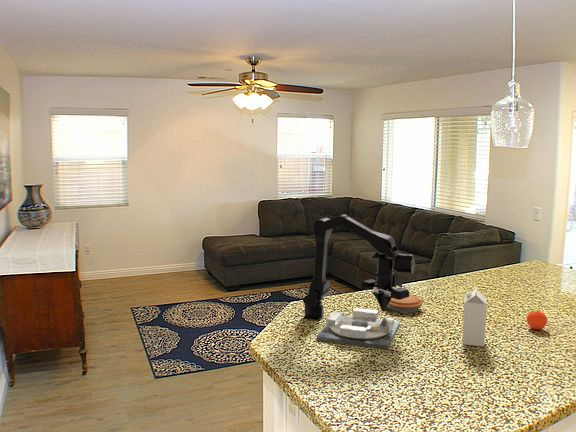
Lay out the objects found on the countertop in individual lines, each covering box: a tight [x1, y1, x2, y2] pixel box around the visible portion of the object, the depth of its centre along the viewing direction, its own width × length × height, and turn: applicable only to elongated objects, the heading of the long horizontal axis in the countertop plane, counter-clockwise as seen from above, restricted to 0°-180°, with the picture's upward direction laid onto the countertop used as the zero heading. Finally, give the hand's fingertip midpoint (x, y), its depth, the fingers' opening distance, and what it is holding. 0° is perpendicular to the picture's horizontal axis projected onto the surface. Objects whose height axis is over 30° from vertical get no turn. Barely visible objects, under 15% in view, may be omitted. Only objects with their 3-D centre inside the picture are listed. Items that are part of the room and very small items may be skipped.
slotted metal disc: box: [325, 307, 395, 340], centre depth 191 cm, size 23×23×4 cm
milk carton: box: [461, 287, 488, 348], centre depth 181 cm, size 7×7×19 cm
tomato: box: [524, 309, 548, 330], centre depth 195 cm, size 8×7×7 cm
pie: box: [388, 294, 424, 314], centre depth 218 cm, size 15×16×5 cm
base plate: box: [316, 314, 401, 351], centre depth 191 cm, size 25×25×2 cm
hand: (383, 311), depth 195 cm, fingers closed
